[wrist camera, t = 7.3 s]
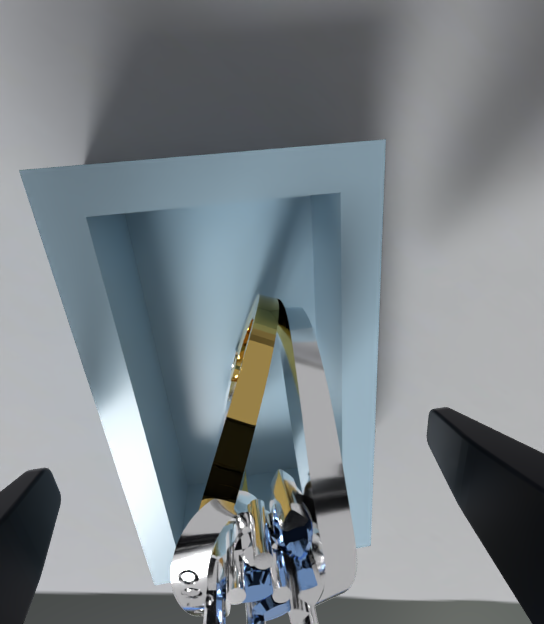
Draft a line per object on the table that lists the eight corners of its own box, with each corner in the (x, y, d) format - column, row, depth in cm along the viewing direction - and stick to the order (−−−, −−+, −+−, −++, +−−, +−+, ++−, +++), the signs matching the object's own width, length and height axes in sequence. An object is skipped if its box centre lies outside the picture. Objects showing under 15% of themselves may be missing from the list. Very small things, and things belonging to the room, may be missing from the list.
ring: (223, 253, 11) (222, 420, 4) (318, 278, 12) (471, 460, 5) (179, 431, 14) (125, 749, 6) (261, 443, 14) (301, 742, 7)
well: (338, 147, 11) (385, 139, 8) (340, 468, 16) (370, 545, 13) (82, 168, 10) (18, 170, 7) (169, 497, 15) (154, 585, 12)
